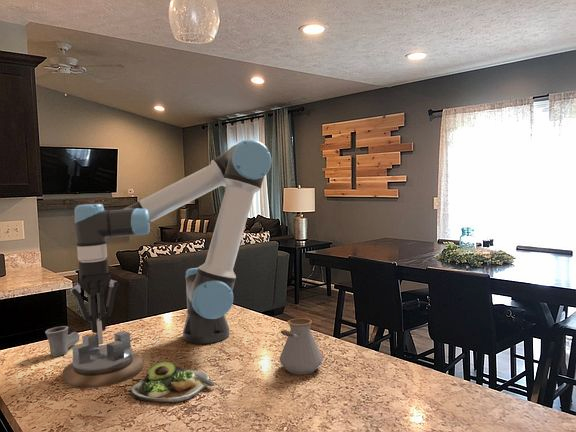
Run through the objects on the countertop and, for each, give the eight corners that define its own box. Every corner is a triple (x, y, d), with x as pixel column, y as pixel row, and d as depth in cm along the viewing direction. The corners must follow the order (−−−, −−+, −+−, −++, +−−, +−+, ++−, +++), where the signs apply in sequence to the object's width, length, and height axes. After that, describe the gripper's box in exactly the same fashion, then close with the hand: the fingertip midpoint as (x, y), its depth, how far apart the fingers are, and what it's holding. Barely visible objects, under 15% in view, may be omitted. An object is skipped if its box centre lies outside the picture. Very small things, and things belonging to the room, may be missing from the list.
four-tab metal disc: (113, 350, 134) (111, 326, 134) (144, 360, 125) (142, 335, 125) (62, 367, 122) (60, 341, 122) (92, 380, 113) (91, 352, 113)
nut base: (152, 357, 133) (152, 349, 133) (126, 387, 114) (126, 378, 113) (85, 358, 134) (84, 351, 134) (47, 388, 114) (46, 380, 114)
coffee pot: (287, 359, 129) (286, 306, 128) (327, 362, 125) (326, 308, 125) (259, 391, 109) (257, 330, 108) (306, 397, 105) (304, 333, 104)
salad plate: (229, 377, 118) (228, 360, 118) (195, 410, 101) (194, 390, 101) (163, 370, 124) (162, 354, 124) (121, 400, 107) (120, 381, 107)
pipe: (84, 344, 147) (82, 320, 146) (60, 359, 134) (58, 332, 134) (66, 344, 148) (64, 320, 147) (40, 359, 135) (38, 332, 134)
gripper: (112, 255, 134) (118, 334, 135) (65, 261, 126) (72, 345, 128) (120, 258, 128) (126, 340, 130) (71, 264, 120) (79, 352, 122)
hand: (99, 342), depth 129 cm, fingers closed
